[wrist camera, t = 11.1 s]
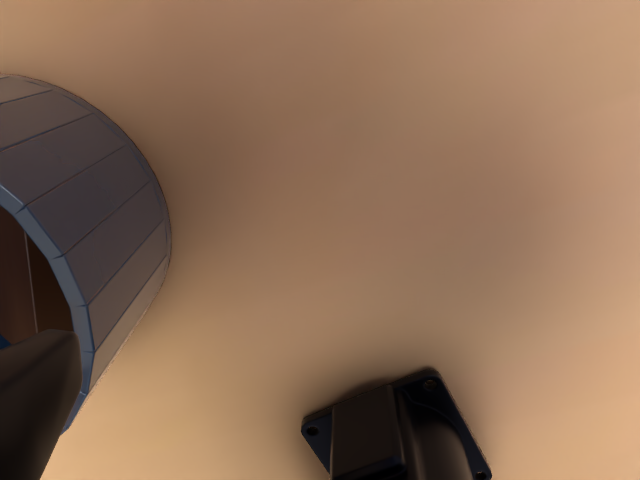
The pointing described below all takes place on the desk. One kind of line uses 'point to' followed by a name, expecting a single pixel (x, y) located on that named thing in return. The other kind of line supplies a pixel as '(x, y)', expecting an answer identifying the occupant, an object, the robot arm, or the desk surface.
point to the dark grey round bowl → (84, 214)
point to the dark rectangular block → (27, 286)
